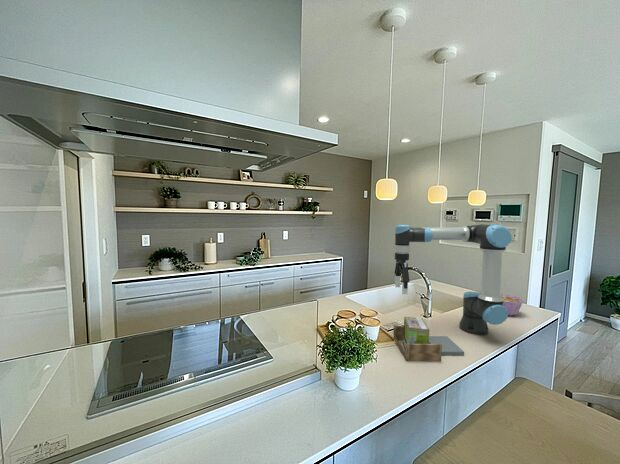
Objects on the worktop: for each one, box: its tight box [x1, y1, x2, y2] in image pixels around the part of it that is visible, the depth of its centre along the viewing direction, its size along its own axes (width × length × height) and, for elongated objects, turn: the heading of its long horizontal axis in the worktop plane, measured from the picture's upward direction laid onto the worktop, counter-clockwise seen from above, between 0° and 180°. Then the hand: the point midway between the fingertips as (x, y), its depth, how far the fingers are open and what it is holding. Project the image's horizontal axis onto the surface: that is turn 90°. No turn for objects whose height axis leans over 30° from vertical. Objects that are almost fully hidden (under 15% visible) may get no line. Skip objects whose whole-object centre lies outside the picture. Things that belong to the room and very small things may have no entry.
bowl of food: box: [500, 293, 524, 317], centre depth 185 cm, size 20×20×12 cm
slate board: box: [429, 335, 465, 357], centre depth 137 cm, size 13×17×2 cm
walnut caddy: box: [392, 324, 442, 362], centre depth 134 cm, size 17×22×8 cm
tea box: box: [403, 316, 430, 349], centre depth 134 cm, size 15×10×15 cm
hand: (401, 290), depth 145 cm, fingers open, 13 cm apart
